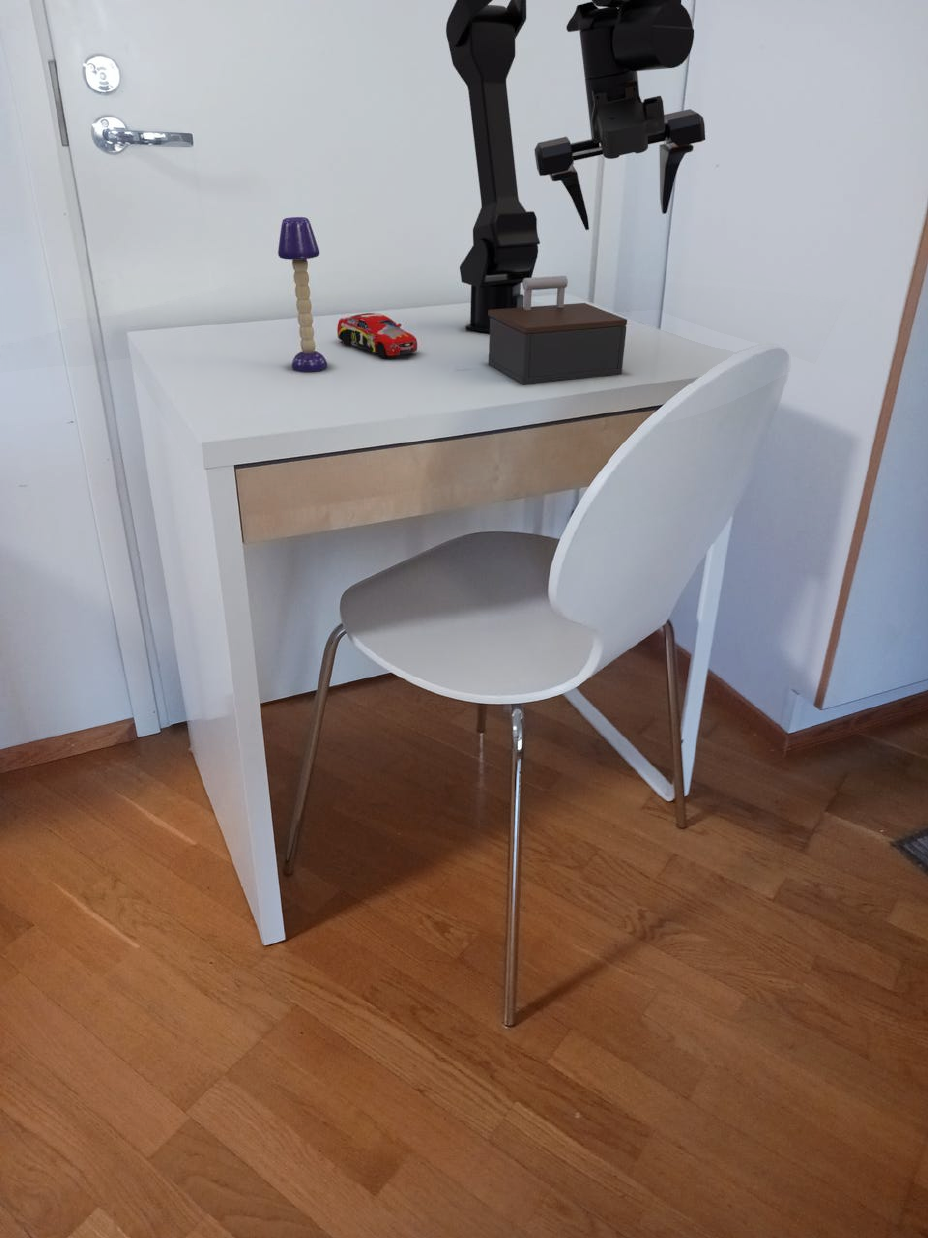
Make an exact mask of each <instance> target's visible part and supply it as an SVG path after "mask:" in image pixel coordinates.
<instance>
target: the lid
mask: <svg viewBox="0 0 928 1238" xmlns="http://www.w3.org/2000/svg"><path fill="white" fill-rule="evenodd" d="M568 284H569V280H568V277H567V275H553V276H539V277H538V276H536V277H531V278H524V279H523V282H522V283H521V286H522V290H523V291H524V293H523V296H524V301H523V307H521V308H507V309H494V310H488V316H490V317H492V318H494V319H496V320H498V321H501V322H503V323H505V324H507V325H509V326H511V327H513V328H515V329H517V330H519V331H521V332H523V333H525V334H531V333H542V332H554V331H566V330H578V329H590V328H602V327H614V326H627V324H628V319H627V318H624V317H622V316H619V315H617V314H614V313H611V312H609V311H606V310H603V309H601V308H598V307H596V306H594V305H592V304H588V303H586V302H578V303H577V302H576V303H565V291H566V289H567V287H568ZM555 289H556V304H552V305H537V306H532V294H533V291H538V290H555ZM564 303H565V304H564Z"/></svg>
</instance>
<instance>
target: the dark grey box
mask: <svg viewBox="0 0 928 1238" xmlns="http://www.w3.org/2000/svg"><path fill="white" fill-rule="evenodd" d="M626 336H627V325H625V326H614V327H602V328H590V329H578V330H566V331H554V332H542V333H531V334H525V333H523V332H521V331H519V330H517V329H515V328H513V327H511V326H509V325H507V324H505V323H503V322H501V321H498V320H496V319H494V318H492V317H490V332H489V344H488V345H489V347H488V348H489V349H488V365H489V366H490V367H492V368H494V369H496V370H498V371H499V372H501V373H503V374H504V375H506V376H508V377H510V378H511V379H513V380H514V381H516V382H518V383H520V384H522V385H531V384H540V383H550V382H559V381H560V382H561V381H568V380H579V379H587V378H598V377H607V376H616V375H622V374H623V364H624V354H625V345H626Z"/></svg>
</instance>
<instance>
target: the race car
mask: <svg viewBox="0 0 928 1238" xmlns="http://www.w3.org/2000/svg"><path fill="white" fill-rule="evenodd" d="M401 327H402V323H397V322H395V321H394V320H393V319H391V318H390V317H388V316H386V315H383V314H380V313H374V312H367V313H359V314H354V315H351V316H350V315H349V316H347V317H341V318H340V319H339V320H338V322H337V327H336V330H337V331H336V332H337V333H336V334H337V338H338V339H339V340H340V341H342V344H343V345H344V346H346V347H349V346H355V347H357V348H361V349H362V350H363V349H364V350H366V351H369V352H371V353H374V354H375V353H376V354H377V356H378V357H379V358H380V359H385V358H389V356H403V355H409V354H413V353H416V352H417V350H418V340H417V338H416V336H414V335H413V334H412V333H410V332H408V331H407V330H404V329H403V328H401Z"/></svg>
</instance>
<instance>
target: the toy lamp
mask: <svg viewBox="0 0 928 1238" xmlns="http://www.w3.org/2000/svg"><path fill="white" fill-rule="evenodd" d="M277 250H278V251H277V255H278V257H279V258H280V259H282V260H290V261H291V266H292V269H293V271H294V272H293V282H294V285H295V287H294V294H295V297H296V302H295V308H296V310H297V312H298V313H297V323H298V325H299V329H298V334H299V337H300V349H301V351H300V352H297V353H296V354H295V355H294V357H293V358H292V361H291V369H292V370H294V371H297V372H304V373H305V372H306V373H307V372H308V373H312V372H313V373H314V372H320V371H323V370H325V369H327V367H328V363H327V360H326V358H325V356H324V355H323V354H322V353H321V352H319V351H317V350H316V341H315V339H314V338H315V330H314V327H313V323H314V317H313V314H312V301H311V299H310V297H311V288H310V286H309V284H310V283H309V282H310V276H309V273H308V268H309V264H308V263H309V261H308V260H310V259H311V260H312V259H315V258H318V257H319V256H320V249H319V245H318V241H317V239H316V236H315V233H314V230H313V226H312V224H311V221H310V219H308V217H303V216H295V217H294V216H293V217H286V218H283V219H282V221H281V226H280V233H279V242H278V249H277Z"/></svg>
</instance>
